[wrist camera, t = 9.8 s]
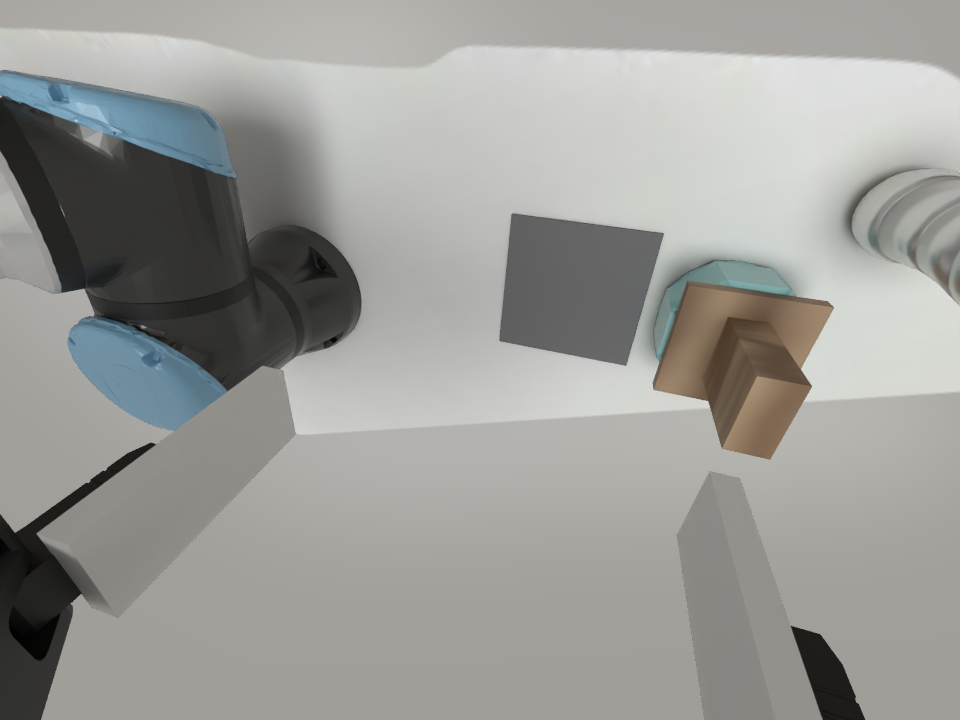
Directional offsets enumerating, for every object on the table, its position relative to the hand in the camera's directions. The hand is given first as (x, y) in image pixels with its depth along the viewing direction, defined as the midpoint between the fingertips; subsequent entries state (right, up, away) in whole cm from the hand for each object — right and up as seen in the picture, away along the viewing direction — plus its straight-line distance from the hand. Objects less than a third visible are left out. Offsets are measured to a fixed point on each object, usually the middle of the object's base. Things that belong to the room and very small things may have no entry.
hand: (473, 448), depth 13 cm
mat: (+10, +10, +30) cm, 33 cm away
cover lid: (+21, +4, +23) cm, 31 cm away
